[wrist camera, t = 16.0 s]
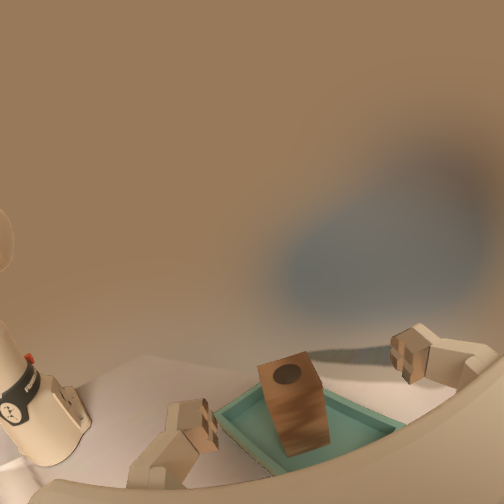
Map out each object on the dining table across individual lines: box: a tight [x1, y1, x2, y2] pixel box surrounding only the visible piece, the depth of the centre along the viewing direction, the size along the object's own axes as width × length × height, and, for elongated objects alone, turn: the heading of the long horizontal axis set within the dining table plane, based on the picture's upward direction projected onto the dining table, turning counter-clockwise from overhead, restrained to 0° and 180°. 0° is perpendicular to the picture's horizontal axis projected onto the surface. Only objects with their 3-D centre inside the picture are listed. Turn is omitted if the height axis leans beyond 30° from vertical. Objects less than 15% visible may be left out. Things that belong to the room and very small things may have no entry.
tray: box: [214, 382, 406, 476], centre depth 26 cm, size 20×12×3 cm, turn 38°
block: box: [257, 351, 331, 458], centre depth 25 cm, size 5×5×11 cm
